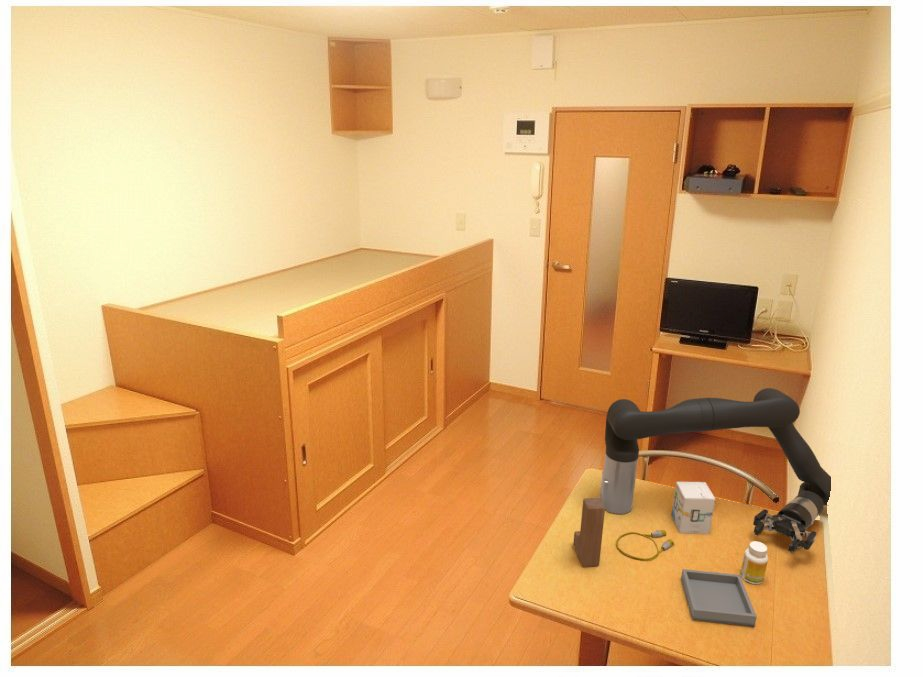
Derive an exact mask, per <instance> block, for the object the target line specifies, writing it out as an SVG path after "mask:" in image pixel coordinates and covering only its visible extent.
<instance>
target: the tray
mask: <svg viewBox="0 0 923 677" xmlns="http://www.w3.org/2000/svg"><path fill="white" fill-rule="evenodd" d="M681 570H682V571H681V577H680V581H681V584H682V588H683V591H684V595H685V599H686V602H687V607H688V606H689V607H688V609H689V614H690V617H691V620H692V621H697V622H707V623H714V624H715V623H716V624H723V625H731V626H732V625H733V626H742V627H750V628H755V627H756V622H757V619H758V618H757V617H758V616H757V615H756V612H755V608H754V607H753V605H752V601H751V599H750V596H749V594H748V592H747V590H746V587H745V584H744V582H743V578H742V577H741V574H735V573H725V572H717V571H716V572H715V571H705V570H696V569H685V568H682V569H681Z"/></svg>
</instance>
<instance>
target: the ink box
mask: <svg viewBox="0 0 923 677" xmlns="http://www.w3.org/2000/svg"><path fill="white" fill-rule="evenodd" d="M675 482H676V483H675V489H674V493H673V494H674V496H673V501H672V509H671V517H672V519H673V521H674V524H675V526H676V528H677V530H678V533H679V534H696V533H697V534H698V535H699V534H700V535H703V534H704V535H709V534H710V532H711V527H712V526H711V525H712V521H713V514H714V511H715V504H716V497H715V496H714V494H713V493H712V491H711V489H710V487H709V486H708V484H707V483H706V482H705V481H680V480H679V481H675Z"/></svg>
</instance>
